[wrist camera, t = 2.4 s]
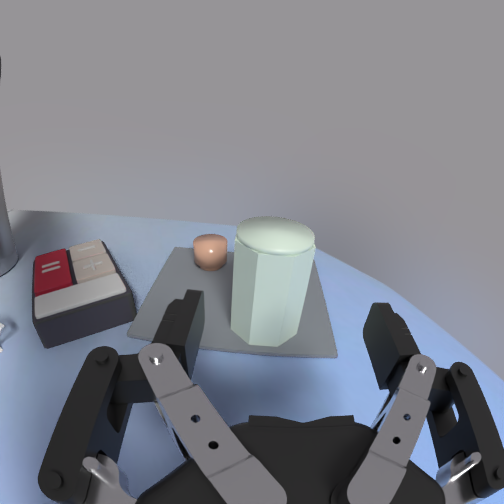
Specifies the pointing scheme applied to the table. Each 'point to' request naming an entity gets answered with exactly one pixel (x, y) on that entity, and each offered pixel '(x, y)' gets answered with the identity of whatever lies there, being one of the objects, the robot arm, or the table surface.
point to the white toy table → (0, 329)
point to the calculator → (78, 294)
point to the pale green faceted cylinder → (270, 279)
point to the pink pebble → (210, 251)
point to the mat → (219, 310)
